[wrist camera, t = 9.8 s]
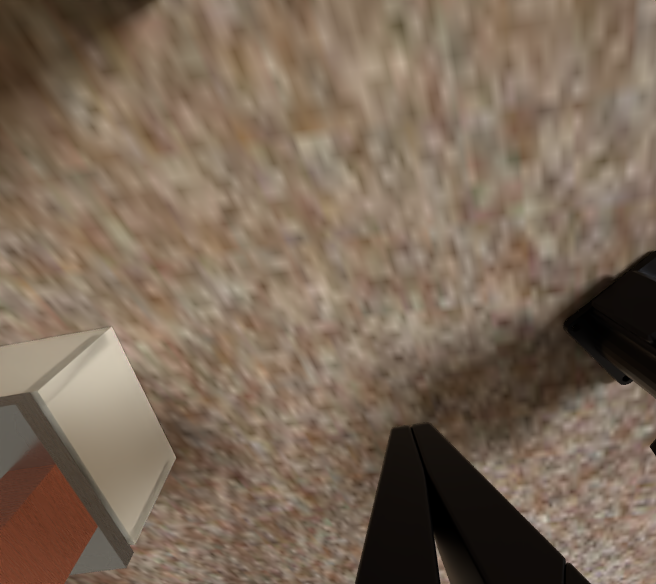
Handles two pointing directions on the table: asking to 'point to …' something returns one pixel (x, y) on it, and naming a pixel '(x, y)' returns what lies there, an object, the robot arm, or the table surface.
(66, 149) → the table surface
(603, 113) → the table surface
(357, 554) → the table surface
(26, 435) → the lid
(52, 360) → the cream open box
